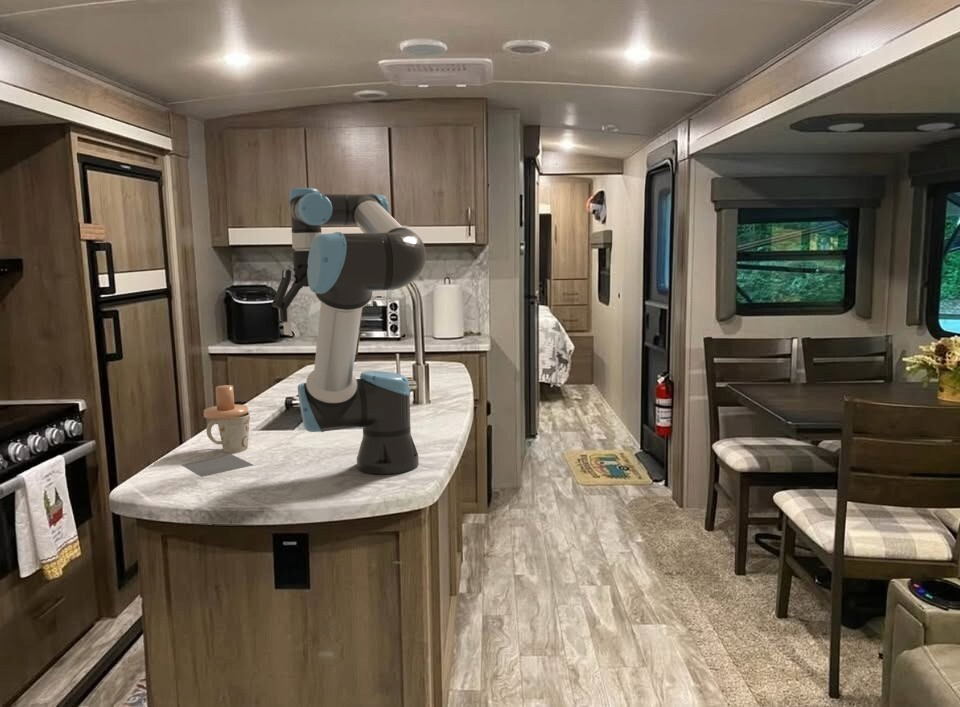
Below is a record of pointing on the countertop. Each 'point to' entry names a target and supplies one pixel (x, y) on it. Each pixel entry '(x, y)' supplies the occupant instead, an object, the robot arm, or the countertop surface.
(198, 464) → the mat
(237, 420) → the mug
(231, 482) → the countertop surface
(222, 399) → the lid
